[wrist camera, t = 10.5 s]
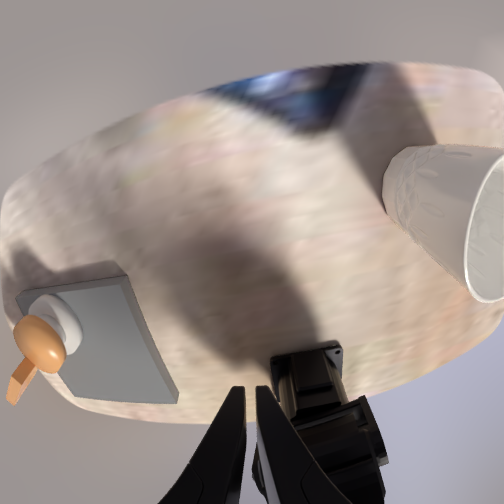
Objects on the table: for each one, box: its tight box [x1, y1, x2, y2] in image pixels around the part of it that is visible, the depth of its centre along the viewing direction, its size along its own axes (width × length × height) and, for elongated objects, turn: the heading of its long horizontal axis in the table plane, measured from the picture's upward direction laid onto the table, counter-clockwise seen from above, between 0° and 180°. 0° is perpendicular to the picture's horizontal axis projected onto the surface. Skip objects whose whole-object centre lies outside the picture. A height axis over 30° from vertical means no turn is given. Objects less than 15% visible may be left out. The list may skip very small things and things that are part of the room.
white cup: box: [382, 144, 504, 303], centre depth 13 cm, size 8×8×10 cm
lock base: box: [15, 275, 179, 404], centre depth 21 cm, size 14×14×4 cm
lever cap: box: [6, 315, 67, 406], centre depth 17 cm, size 12×5×5 cm, turn 134°
